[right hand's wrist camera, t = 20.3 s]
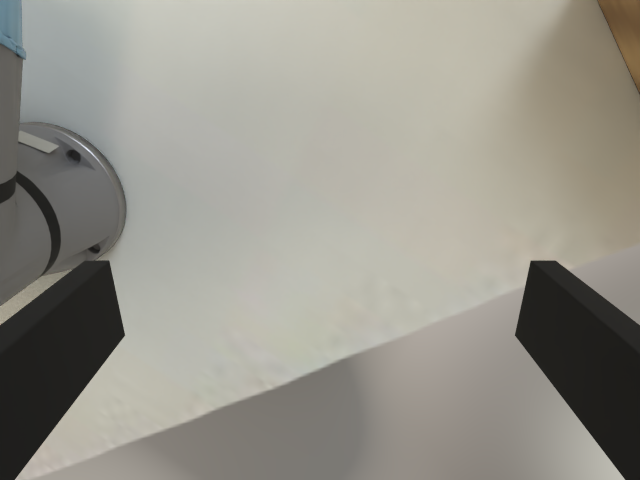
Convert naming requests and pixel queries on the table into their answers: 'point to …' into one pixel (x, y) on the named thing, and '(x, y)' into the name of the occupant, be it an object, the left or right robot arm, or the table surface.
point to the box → (625, 31)
